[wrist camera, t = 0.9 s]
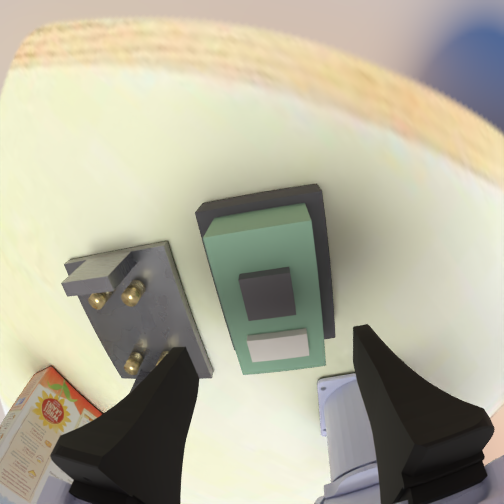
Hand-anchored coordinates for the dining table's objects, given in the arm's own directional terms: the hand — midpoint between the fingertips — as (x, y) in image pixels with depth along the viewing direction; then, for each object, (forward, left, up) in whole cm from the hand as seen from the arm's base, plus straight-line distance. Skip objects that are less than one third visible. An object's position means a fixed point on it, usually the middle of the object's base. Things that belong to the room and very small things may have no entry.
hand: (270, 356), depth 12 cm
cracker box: (-16, +26, -9) cm, 32 cm away
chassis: (-3, +11, -8) cm, 14 cm away
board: (0, 0, -6) cm, 6 cm away
